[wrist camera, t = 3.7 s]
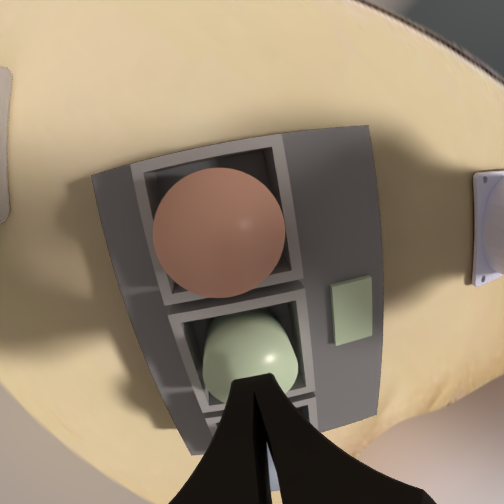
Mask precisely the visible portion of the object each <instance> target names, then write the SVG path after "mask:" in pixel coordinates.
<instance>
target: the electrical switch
mask: <svg viewBox="0 0 504 504" xmlns="http://www.w3.org/2000/svg"><path fill="white" fill-rule="evenodd" d="M12 80H13V76H12V73H11V71H10V70H9V69H8V68H7V67H1V66H0V223H4V222H5V220H6V219H7V218H8V216H9V211H10V205H9V192H8V170H7V141H8V119H9V106H10V96H11V88H12Z"/></svg>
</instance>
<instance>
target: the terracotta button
mask: <svg viewBox="0 0 504 504" xmlns="http://www.w3.org/2000/svg"><path fill="white" fill-rule="evenodd" d="M284 242H285V223H284V218H283V214H282V211H281V209H280V206H279V204H278V202H277V200H276V199H275V197H274V196H273V194H272V193H271V192H270V191H269V190H268V188H267V187H266V186H265V185H264V184H262V183H261V182H260V181H259V180H257V179H256V178H254V177H252V176H251V175H249V174H246V173H244V172H242V171H238V170H235V169H229V168H209V169H204V170H200V171H197V172H194V173H192V174H190V175H188V176H186V177H184V178H183V179H181V180H180V181H178V182H177V183H176V184H175V185H173V187H172V188H171V189H170V190H169V191H168V192H167V193H166V195H165V196H164V197H163V199H162V201H161V202H160V204H159V206H158V209H157V211H156V214H155V218H154V223H153V243H154V248H155V252H156V255H157V257H158V259H159V262H160V264H161V265H162V267H163V268H164V270H165V272H166V273H167V274H168V275H169V276H170V277H171V278H172V279H173V280H174V281H175V282H176V283H177V284H179V285H180V286H181V287H183V288H184V289H186V290H188V291H190V292H192V293H195V294H198V295H201V296H205V297H212V298H226V297H233V296H237V295H240V294H243V293H245V292H248V291H249V290H251V289H253V288H255V287H256V286H258V285H259V284H260V283H262V282H263V281H264V280H265V279H266V278H267V277H268V276H269V275H270V274H271V272H272V271H273V270H274V268H275V267H276V265H277V263H278V261H279V259H280V257H281V254H282V251H283V248H284Z"/></svg>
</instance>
